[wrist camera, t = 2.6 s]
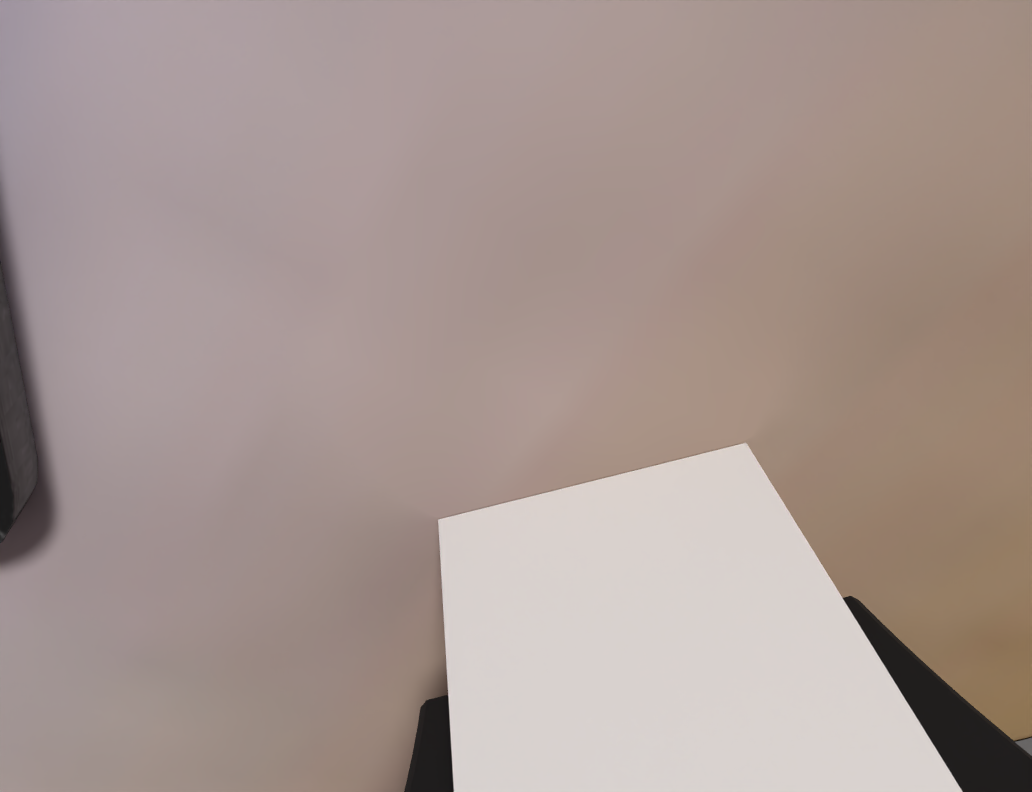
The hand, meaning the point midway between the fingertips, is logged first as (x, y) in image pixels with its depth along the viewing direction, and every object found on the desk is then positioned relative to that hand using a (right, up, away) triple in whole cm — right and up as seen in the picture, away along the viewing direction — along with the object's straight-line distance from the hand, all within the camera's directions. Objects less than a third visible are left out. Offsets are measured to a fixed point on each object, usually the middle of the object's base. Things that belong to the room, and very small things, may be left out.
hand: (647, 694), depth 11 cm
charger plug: (0, +1, +2) cm, 2 cm away
